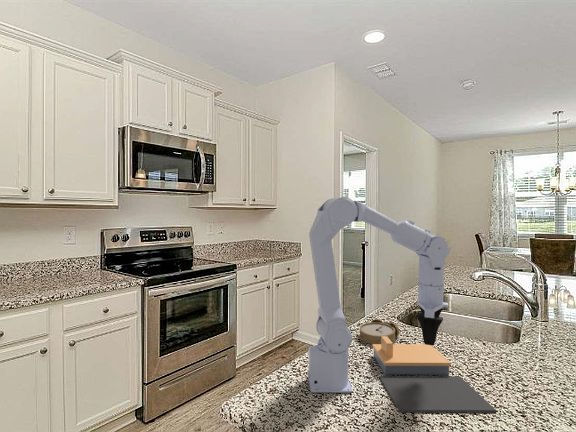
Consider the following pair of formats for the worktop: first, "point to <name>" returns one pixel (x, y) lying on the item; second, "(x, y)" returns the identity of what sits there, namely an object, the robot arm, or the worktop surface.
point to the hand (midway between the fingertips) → (429, 339)
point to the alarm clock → (378, 331)
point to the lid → (408, 354)
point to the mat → (434, 394)
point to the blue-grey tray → (412, 369)
